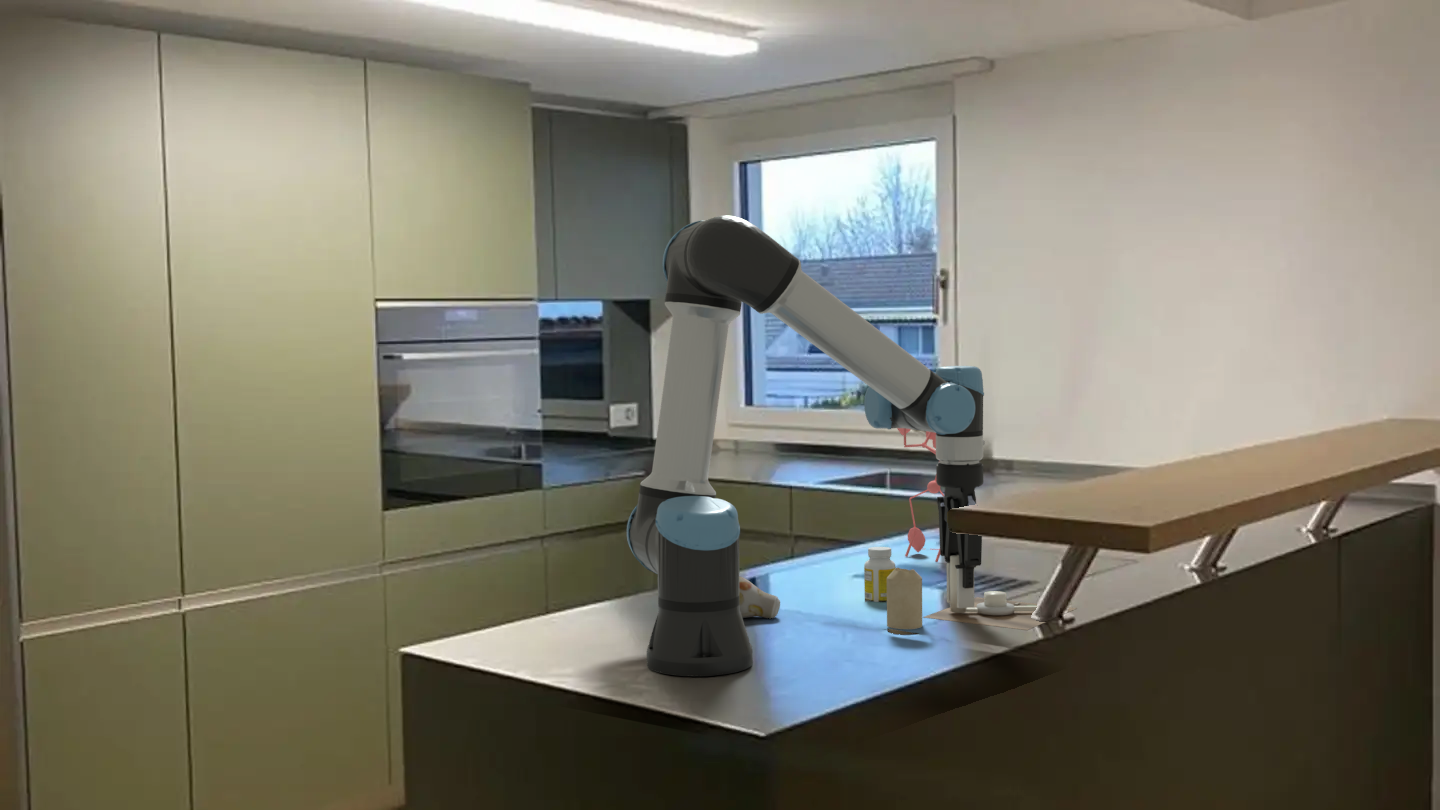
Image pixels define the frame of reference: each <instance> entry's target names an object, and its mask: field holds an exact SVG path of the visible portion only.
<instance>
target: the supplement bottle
mask: <svg viewBox="0 0 1440 810" xmlns="http://www.w3.org/2000/svg"><path fill="white" fill-rule="evenodd" d="M867 554H868V555H867V556H868V558H869V559H868V560H867V561H865V562H864V567H863V568H864V569H863V571H864V572H863V573H864V574H863V575H864V578H863V579H864V583H863V585H864V603H866V602H874V603H887V577H888V576H889V575H890V574H891V572H892V571H893V570H894V569H896V568H897V566H896V562H895V561H894V560H892V559H891V557H892V554H893V553H892V548H891V547H888V546H872V547H868V548H867Z"/></svg>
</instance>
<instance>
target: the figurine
mask: <svg viewBox="0 0 1440 810" xmlns="http://www.w3.org/2000/svg"><path fill="white" fill-rule="evenodd" d="M896 429H897V431H898V432H899V434H900V435H901V436H903V448H917V447H918V448H919V447H922V448H924V449H927V450H928V451H930V452H931V453H933V454H934V455H935V456H936V433H934V432H928V431H925V437H926V438H925V440H924V442H922V443H915V444H907V434H908V433H909V432H911V430H912V429H906V428H896ZM929 440H931V441H932V447H931V446H929V445H927V444H928V442H929ZM939 462H940V460H938V463H939ZM927 492H929V493H931V494H934V495H935V494H937V493H938V494H939V493H940V494H941V496H944V493H943V490H942V489H941V486H939V485H938V484H937V482H936V476H935V478H934V479H933V480H931V481H929V482H928V483H927V488H926V489H925V490H923V491H920V493H917V494H914V495H912V496H911V497H909V499H908V500H909V507H910V513H911V519H912V523H913V527H912V528H909V531H908V533H907V541H908V543H909V544H908V547H907V549H906V552H905V554H904V557H906V558H907V557H908V556H909V554H910V550H911V548H913V549H914V550H915V552H916V553H919V552H921V551H922V550H923V549H924V547H925V546H926V537H925V535H924V532H923V531H922V529H920V528H918V527H916V526H917V525H916V520H915V515H914V508H913V504H912V500H913V499H914V498H917V497H918V496H920V495H922V494H924V493H927ZM931 550H935V551H937V550H938V552H937V555H936V558H935V560H934V562H935V563H938V562H939V559H940V556H941V555H940V548H931Z"/></svg>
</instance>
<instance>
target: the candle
mask: <svg viewBox="0 0 1440 810" xmlns="http://www.w3.org/2000/svg"><path fill="white" fill-rule="evenodd" d="M886 626H887V627H888V628H886V629H887V630H886V631H887V632H888V633H889V634H892V633H893V634H892V635H899V634H900V635H899V636H911V635H912V636H913V635H919V634H920V632H914V631H913V632H912V631H906V630H916V629H919V628H922V627H923V577H922V576H921V575H920V574H919V573H918V572H917V571H916V570H915V569H913V568H912V569H908V568H907V569H906V568H900V567H896V569H894V570H893V571H892V572H891V574H890V575H889V576H888V577H887V602H886Z"/></svg>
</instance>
